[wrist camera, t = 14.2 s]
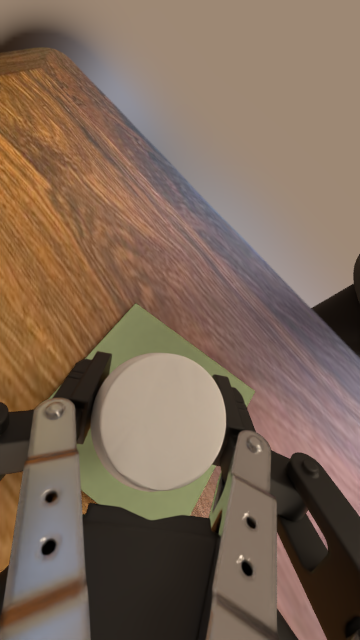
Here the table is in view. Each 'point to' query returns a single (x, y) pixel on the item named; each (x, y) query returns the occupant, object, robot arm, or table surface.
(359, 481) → the table surface
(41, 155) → the table surface
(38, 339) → the table surface
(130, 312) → the mat
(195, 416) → the supplement bottle
